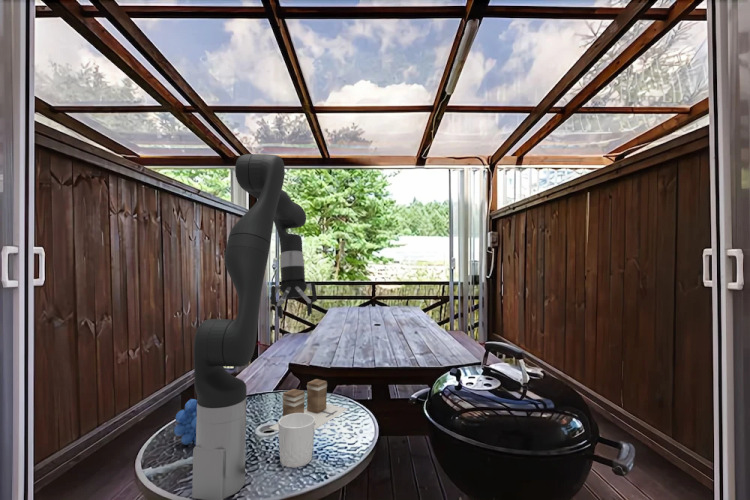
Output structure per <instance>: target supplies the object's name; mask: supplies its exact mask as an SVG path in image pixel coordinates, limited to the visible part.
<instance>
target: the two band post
mask: <svg viewBox="0 0 750 500" xmlns="http://www.w3.org/2000/svg"><path fill="white" fill-rule="evenodd" d="M305 397H306V394H305V391H303V390H300V389H296V388H292V389H290V390H288V391H284V392H283V393H282V401H281V403H282V417H283V416H286V415H288V414H293V413H304V409H305V402H306V398H305Z"/></svg>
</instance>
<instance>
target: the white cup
mask: <svg viewBox="0 0 750 500" xmlns="http://www.w3.org/2000/svg"><path fill="white" fill-rule="evenodd" d="M278 423H279V431H278V446H279V450H278V451H279V457H280V458H279V459H280V460H279V461H280V463H281V464H282V466H285V467H286V468H300V467H304V466H306V465H308V464H309V463H310V462H311V461H312V458H313V457H312V456H313V452H314V439H315V437H314V435H315V430H314V424H315V418H314V417H313V416H312V415H310V414H307V413H293V414H288V415H286V416H283V415H282V416H281V418H279V420H278Z"/></svg>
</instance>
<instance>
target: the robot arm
mask: <svg viewBox="0 0 750 500" xmlns="http://www.w3.org/2000/svg"><path fill="white" fill-rule="evenodd" d="M234 168H235V169H234V171H235V173H234V174H235V178H236V180H237V181H236V182H237V184H238V185H239V187H240V188H241V189H242V190H243V191H245V192H246V193H248V194H249V195H251V196H253V197H254V198H256V199H257V200H256V202H255V203H254V204H253V206H252V207H250V209H248V210H247V211H246V212H245V214H243V215H242V216H241V217H240V219H238V220H237V221H236V223H235V224H234V225H233V227H232V228H231V229H230V232H229V234H228V238H227V243H226V248H225V251H224V257H223V260H224V265H225V268H226V271H227V273H228V275H229V278H230V281H232V284H233V286H234V288H235V291H236V294H237V297H238V299H237V300H238V301H237V302H238V307H237V315H236V318H235V319H225V318H223V319H220V318H213V319H211V318H210V319H206V320H204V321H203V322H201V323H200V325H199V326H198V327H197V328H196V329H197V330H196V332H195V335H194V341H193V366H194V367H193V371H194V376H193V378H194V390H195V393H196V400H197V425H196V445H195V446H194V448H193V451H192V489H191V490H192V491H191V493H192V494H191V495H192V496H191V498H192V499H196V500H197V499H198V500H225V499H226V498H229V497H231V496H233V495H235V494H237V493H238V492H239V491H240V490H241V489H242V488H243V487H244V485H245V482H246V438H247V437H246V432H247V430H246V429H247V392H248V391H247V389H248V388H247V384H246V383H245V381H243V380H242V379H241V378H238V377H236V376H234V375H232V374H231V373H229V372H228V371H227V369H225V368H224V367H230V368H231V367H233V368H234V367H236V368H237V367H238V368H239V367H245V366H247V365H249V363H250V362H251V360H252V358H253V356H254V353H255V350H256V343H257V336H258V329H259V328H258V327H259V318H260V317H259V316H260V315H259V314H260V306H261V298H262V290H263V285H264V278H265V274H266V271H267V270H266V269H267V264H268V259H269V254H270V249H271V241H272V236H273V228H274V227H273V226H274V225H275V229H276V232H277V235H278V239H279V247H280V258H279V260H280V261H279V262H280V267H279V268H280V282H281V283H280V285H279V286H275V285H271V287H270V304H271V306H276V311H277V312H276V313H277V317H278V318H279V319H280V320H282V319H284V314H283V310H284V309H283V306H282V305H283V304H284V303H285V302H286V300H287V299H294V298H295V299H299V298H301V297H302V298H303V299H304V300H305V301H306V303H307V304H306V312H307V313H306V314H307V317H311V315H312V313H313V308H312V305H313V303H315V302H317V301H318V297H317V288H316V284H315V282H310V283H306V275H305V273H306V271H305V259H304V253H303V240H302V237H301V236H300V235H299V234H295V233H290V232H289V233H288V232H287V230H289V229H298V228H301V227H303V226H305V224H306V222H307V214H306V211H305V209H303V207H302V206H301V205H299V204H298V203H296V202H295V201H293V200H292V199H291V197H290V195H289V194H288V193H287V192H286V191H285V190H283V187H284V180H285V174H286V173H285V169H286V168H285V163H284V160H283V159H282V157H281V156H279V155H276V154H272V153H271V154H269V153H268V154H264V153H246V154H243V155H240V156H239V157H238V158H237V159H236V162H235V167H234ZM307 289H309V291H311V294H312V295H311V296H312V297H311V298H309V297H308V295H307V294H306V293H305V291H306V290H307ZM279 291H281V292H282V293H283V294H282V295H281V296H280V298H279V300H278V301H277V294H278V293H279Z"/></svg>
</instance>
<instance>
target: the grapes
mask: <svg viewBox="0 0 750 500" xmlns="http://www.w3.org/2000/svg"><path fill="white" fill-rule="evenodd" d="M184 404H185V405H184V409H181V410H179V411H178V412H177V413H176V414H175V418H174V419H175V421H176V423H177V424H176V425H175V426H174V430H173V433H174V435H176V437H177V436H178V437H181V438H180V441H181V444H182V445H185V446H187V445H190V444H192V443H193V444H194V445H195V446H196V425H197V398H196V399H194V398H190V399H189V400H188V401H187V402H186V403H184Z"/></svg>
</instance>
